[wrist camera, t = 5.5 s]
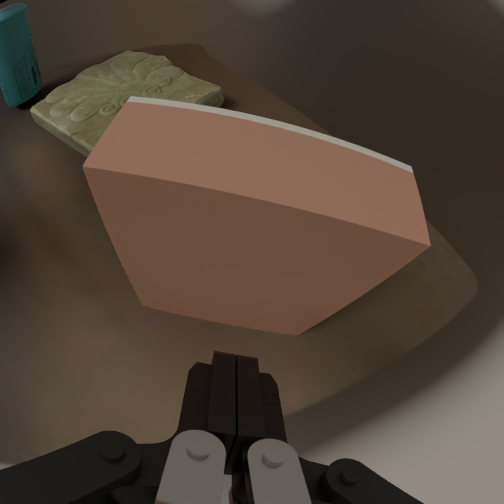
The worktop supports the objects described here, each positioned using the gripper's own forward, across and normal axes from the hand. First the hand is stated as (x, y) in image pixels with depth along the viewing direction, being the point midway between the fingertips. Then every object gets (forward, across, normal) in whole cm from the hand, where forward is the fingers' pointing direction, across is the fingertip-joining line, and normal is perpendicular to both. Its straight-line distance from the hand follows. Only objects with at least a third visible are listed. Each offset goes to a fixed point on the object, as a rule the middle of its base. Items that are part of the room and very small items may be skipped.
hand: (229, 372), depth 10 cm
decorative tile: (+28, +17, -11) cm, 34 cm away
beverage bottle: (+28, +35, -12) cm, 46 cm away
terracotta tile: (+12, 0, +3) cm, 13 cm away
